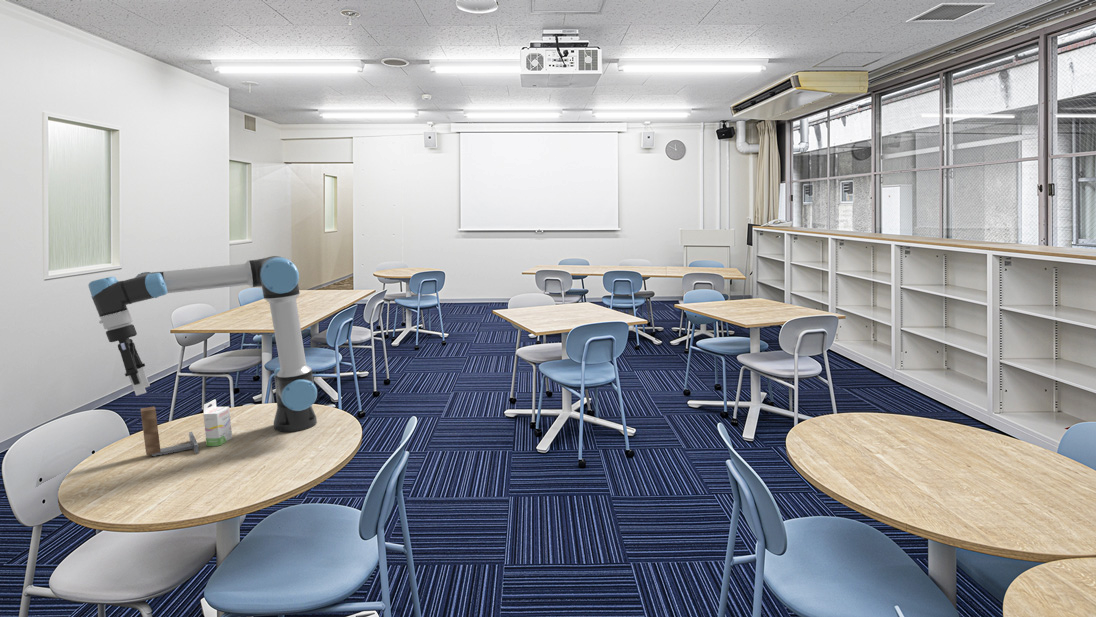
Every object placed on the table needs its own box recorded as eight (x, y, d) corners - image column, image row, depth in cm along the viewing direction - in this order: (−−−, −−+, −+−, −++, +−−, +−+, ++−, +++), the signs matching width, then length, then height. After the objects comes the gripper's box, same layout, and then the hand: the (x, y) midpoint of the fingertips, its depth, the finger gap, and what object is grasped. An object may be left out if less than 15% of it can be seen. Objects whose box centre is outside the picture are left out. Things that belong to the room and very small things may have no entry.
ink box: (220, 446, 217) (215, 405, 214) (206, 446, 217) (201, 405, 215) (233, 437, 225) (229, 397, 223) (219, 437, 225) (215, 398, 223)
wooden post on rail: (192, 439, 223) (188, 396, 221) (198, 452, 210) (193, 407, 208) (145, 449, 215) (139, 404, 212) (148, 463, 202) (142, 416, 200)
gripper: (110, 328, 203) (134, 389, 206) (98, 333, 181) (125, 401, 184) (136, 321, 206) (159, 381, 210) (128, 325, 184) (153, 392, 188)
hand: (143, 390), depth 197 cm, fingers open, 13 cm apart
